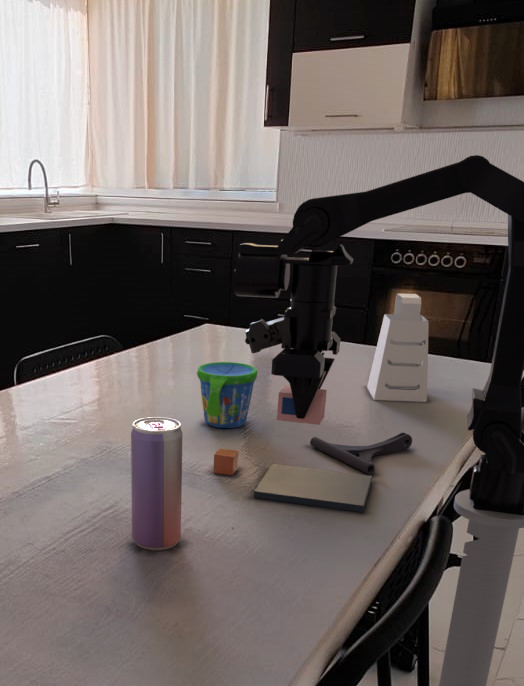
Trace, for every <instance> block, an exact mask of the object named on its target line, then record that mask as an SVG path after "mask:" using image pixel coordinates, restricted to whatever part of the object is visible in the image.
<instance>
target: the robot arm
mask: <svg viewBox="0 0 524 686" xmlns="http://www.w3.org/2000/svg"><path fill="white" fill-rule="evenodd" d="M464 194H472V195H474V196H475V197H477V198H479V199H481V200H482V201H484V202H486V203H487V204H489V205H491V206H492V207H495V208H496V209H498V210H500V211H501V212H503V213H505V214H506V215H507V249H508V251H507V252H508V270H507V275H506V281H505V285H504V290H503V292H504V293H503V297H502V303H501V308H500V314H499V320H498V326H497V331H496V337H495V342H494V346H493V347H494V349H493V354H492V360H491V365H490V370H489V376H488V378H487V380H486V382H485V385H484V387H483V389H479V388H475V387H473V388H472V389H471V407H470V410H469V411H468V413H467V414H466V420H467V430H468V431H469V432H470V431H471V432H472V441H473V444H474V445H475V446H476V448H478V450H479V451H480V452H482V453H483V454H480V455H479V462H478V465H477V464H475V465H474V466H473V469H472V474H471V482H470V485H469V489H470V491H469V498H470V500H472V504H473V508H474V509H478V510H486V511H494V512H501V513H509V514H517V515H524V430H523V407H522V406H523V405H522V379H523V375H524V374H523V373H524V181H523V180H521V179H520V178H518V177H516V176H514V175H512V174H510V173H509V172H507V171H505V170H503V169H502V168H499V167H498V166H497V165H494V164H492V163H491V162H490V161H489V159H487V158H486V157H485V156H483V155H479V154H474V155H470V156H467V157H465V158H463V159H462V160H460V161H457V162H454V163H451V164H449V165H445V166H441V167H439V168H436V169H433V170H430V171H426V172H423V173H419V174H417V175H413V176H411V177H407V178H404V179H401V180H398V181H394V182H391V183H388V184H385V185H383V186H379V187H375V188H373V189H370V190H365V191H360V192H354V193H353V192H352V193H344V194H337V195H330V196H321V197H314V198H310V199H309V198H308V199H307V200H305V201H303V202H302V203H301V204H300V205H299V206H298V207H297V209H296V211H295V213H294V214H293V219H292V228H290V230H289V231H288V233H287V234H286V235H285V236H284V238H283V239H280V243H279V244H278V245H268V244H256V243H253V242H244V243H241V244H239V249H238V250H239V252H238V255H237V258H236V262H235V268H234V270H233V275H232V276H233V277H232V279H233V280H232V283H233V285H232V286H233V292H234V294H235V296H236V297H249V298H250V297H252V298H268V299H269V298H271V299H275V298H276V299H278V298H279V297H280V294H281V291H287V290H288V289H289V288H288V287H289V284H290V276H291V286H290V287H291V288H290V303H289V307H287V308H286V310H285V311H284V313H283V316H282V317H279V318H276V319H273V320H269V321H266V320H265V319H262V318H261V319H260V320H258V321H252V322H251V323H250V324H249V328H248V329H246V330H245V332H244V333H245V339H244V342H245V344H246V345H248V346H249V349H250V352H251V354H257V353H260V352H261V351H262V350H265V349H268V348H272V347H275V346H278V345H281V347H280V349H282V350H281V351H280V352H279V353H278V354H277V355H275V356H274V357H273V358H272V359H271V372H270V374H271V375H273V376H278V377H283V378H284V379H285V380H286V381H287V382H288V383H289V386H290V387H291V392H292V397H293V402H294V408H295V413H296V417H297V418H300V419H304V418H305V416H306V414H307V412H308V410H309V407H310V405H311V403H312V401H313V399H314V397H315V395H316V392H317V390H318V389H322V386H323V384H324V382H325V381H326V378H327V376H328V374H329V373H330V371H331V368H332V366H333V364H334V363H335V358H334V357H325V355H326V353H325V352H328V351H329V352H332V355H334V356H337V355H338V354H339V353H340V349H341V348H340V347H341V338H340V336H339V335H338V334H337V333H336V332H335V331H333V319H334V316H335V315H336V310H337V306H335V297H336V296H335V295H336V288H337V287H336V285H337V274H338V267H349V266H350V265H351V264H353V263H354V258H353V257H352V256H351V255H350V254H349V253H348V252H347V251H346V249H345V246H344V245H343V244H340V245H338V246H337V247H336V248H335V250H314V249H313V250H311V251H310V253H309V257H288V256H292V255H294V254H297V253H298V252H301V251H303V250H305V249H306V248H309V247H310V248H317V247H322V246H325V245H326V244H328V243H331V242H333V241H335V240H337V239H338V238H341V237H343V236H344V235H347V234H349V233H351V232H353V231H355V230H357V229H359V228H361V227H363V226H365V225H367V224H369V223H371V222H373V221H376V220H380V219H383V218H387V217H390V216H393V215H397V214H400V213H404V212H407V211H410V210H414V209H416V208H420V207H423V206H427V205H430V204H433V203H434V204H435V203H437V202H441V201H443V200H447V199H450V198H454V197H456V196H460V195H464ZM291 265H292V271H291ZM291 272H292V273H291Z"/></svg>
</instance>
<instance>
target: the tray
mask: <svg viewBox="0 0 524 686" xmlns="http://www.w3.org/2000/svg"><path fill="white" fill-rule="evenodd" d="M372 481H373V475H369V474H360V473H350V472H343V471H334V470H328V469H327V470H326V469H318V468H311V467H310V468H308V467H301V466H293V465H285V464H276V463H271V464H270V466H269V468H268V469H267V471H266V472H265V474H264V475H263V477H262V478H261V480H260V481H259V483H258V485H257V486H256V487H255V489H254V490H253V498H254V499H262V500H268V501H274V502H275V501H276V502H283V503H284V502H285V503H291V504H297V505H306V506H311V507H312V506H314V507H321V508H328V509H335V510H341V511H350V512H355V513H356V512H357V513H364V510H365V507H366V503H367V500H368V496H369V493H370V489H371V485H372Z"/></svg>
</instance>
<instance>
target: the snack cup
mask: <svg viewBox="0 0 524 686" xmlns="http://www.w3.org/2000/svg"><path fill="white" fill-rule="evenodd" d="M196 375H197V378H198V380H199V382H200V393H201V403H202V409H203V418H204V422H205V425H210V426H212V427H214V428H219V429H235V428H240V427H242V426H243V425H245V423H246V421H247V419H248V414H249V410H250V405H251V400H252V395H253V390H254V384H255V381H256V379H257V377H258V369H257V367H255V366H254V365H251V364H247V363H243V362H235V361H234V362H233V361H218V362H217V361H216V362H208V363H204V364H200V365H199V366H198V368H197V371H196Z"/></svg>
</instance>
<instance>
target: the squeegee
mask: <svg viewBox="0 0 524 686" xmlns="http://www.w3.org/2000/svg"><path fill="white" fill-rule="evenodd" d="M309 444H310V446H311V447H314V448H315V449H317V450H319V451H321V452H323V453H325V454H327V455H329V456H331V457H333V458H335V459H337V460H339V461H341V462H343V463H345V464H347V465H349V466H351V467H353V468H355V469H357V470H359V471H361V472H363V473H365V474H366V475H372V474H373V473H374V472H375V470H376V465H375V464H373V462H372V459H373V456H378V455H384V454H390V453H395V452H401V451H402V452H403V451H405V450H408V449H410V447H411V446H412V444H413V437H412V436H411V434H409V433H406V432H400V433H398V434H396V435H394V436H392V437H389V438H387V439H385V440H383V441H380V442H376V443H374V444H369V445H347V444H338V443H331V442H327V441H325V440H324V439H321V438H319V437H317V436H313V437H311V439H310V440H309Z"/></svg>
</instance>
